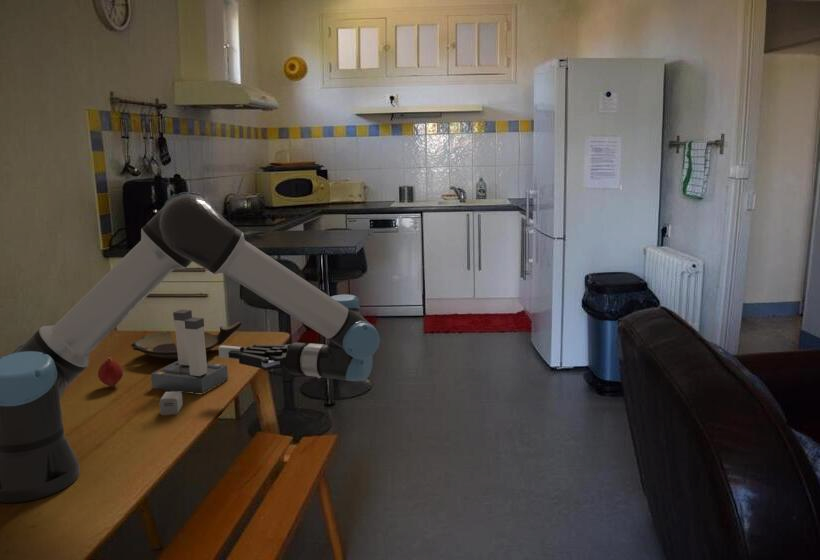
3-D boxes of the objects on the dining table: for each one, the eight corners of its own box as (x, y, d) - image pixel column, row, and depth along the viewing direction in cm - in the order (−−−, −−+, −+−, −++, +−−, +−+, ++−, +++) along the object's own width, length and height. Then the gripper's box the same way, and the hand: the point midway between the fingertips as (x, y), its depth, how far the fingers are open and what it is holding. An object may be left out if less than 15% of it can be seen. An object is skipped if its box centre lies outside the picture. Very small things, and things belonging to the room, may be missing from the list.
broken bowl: (144, 347, 206) (142, 322, 204) (244, 341, 210) (243, 317, 208) (124, 371, 184) (121, 344, 183) (236, 364, 188) (234, 338, 186)
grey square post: (200, 376, 166) (195, 321, 163) (189, 375, 167) (184, 320, 164) (208, 372, 169) (203, 318, 166) (197, 370, 170) (192, 317, 167)
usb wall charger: (160, 415, 154) (159, 398, 153) (168, 403, 161) (166, 388, 160) (178, 414, 154) (177, 398, 153) (185, 403, 161) (184, 387, 160)
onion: (94, 388, 171) (91, 358, 169) (113, 381, 176) (110, 352, 174) (110, 392, 168) (106, 361, 167) (129, 384, 173) (125, 355, 172)
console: (202, 394, 166) (201, 379, 165) (152, 388, 171) (150, 373, 170) (228, 379, 176) (226, 364, 175) (180, 374, 181) (178, 359, 180)
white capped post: (188, 365, 174) (183, 313, 171) (177, 364, 175) (173, 312, 172) (195, 361, 177) (191, 310, 174) (185, 360, 178) (181, 309, 175)
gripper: (294, 384, 152) (205, 374, 159) (320, 365, 164) (236, 357, 171) (292, 352, 150) (203, 344, 158) (318, 336, 162) (234, 329, 170)
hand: (220, 351), depth 164 cm, fingers closed
